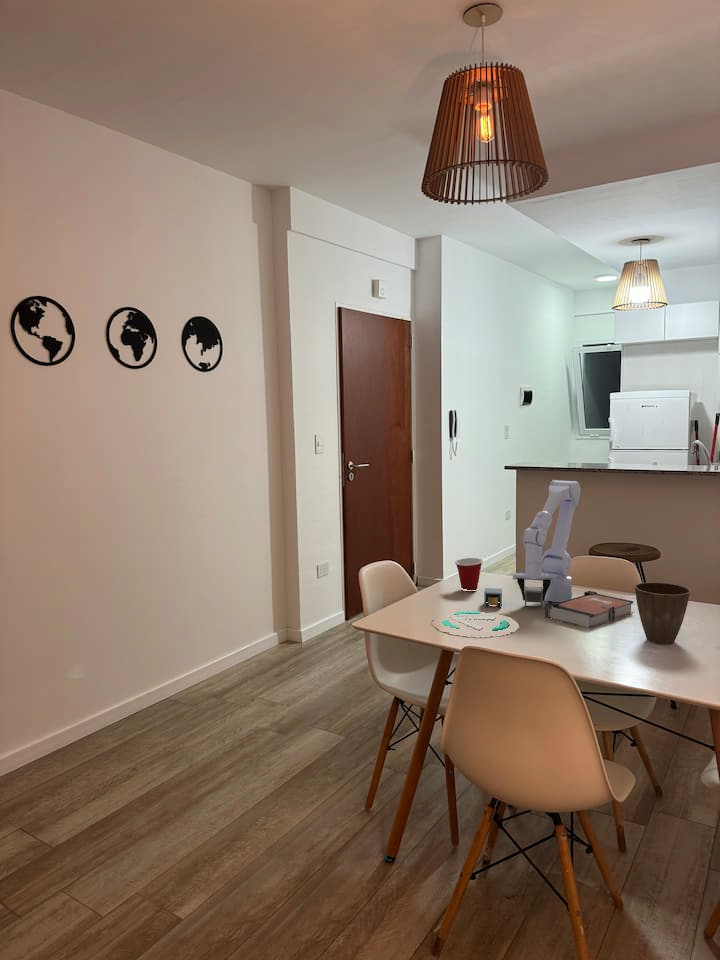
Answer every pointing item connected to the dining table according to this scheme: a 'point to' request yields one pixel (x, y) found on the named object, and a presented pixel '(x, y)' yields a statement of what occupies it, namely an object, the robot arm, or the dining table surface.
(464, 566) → the plastic cup
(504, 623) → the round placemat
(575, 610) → the book
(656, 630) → the plant pot
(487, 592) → the cover
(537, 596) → the cover
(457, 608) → the dining table surface
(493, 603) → the cube
